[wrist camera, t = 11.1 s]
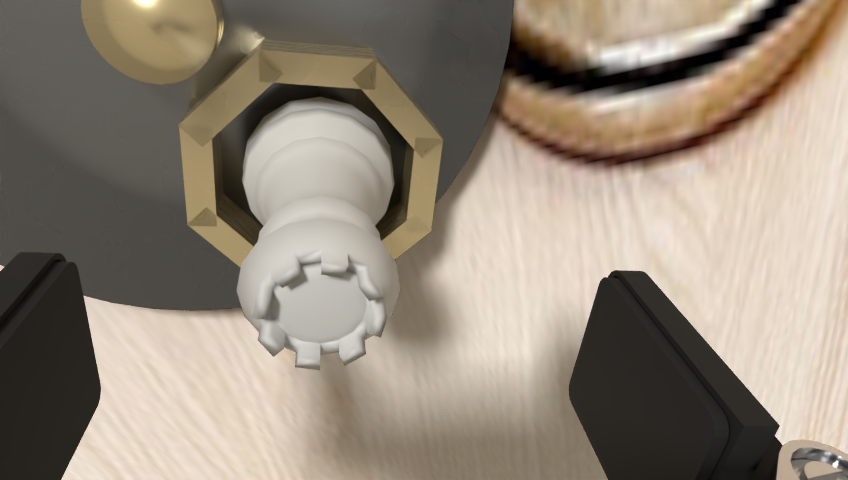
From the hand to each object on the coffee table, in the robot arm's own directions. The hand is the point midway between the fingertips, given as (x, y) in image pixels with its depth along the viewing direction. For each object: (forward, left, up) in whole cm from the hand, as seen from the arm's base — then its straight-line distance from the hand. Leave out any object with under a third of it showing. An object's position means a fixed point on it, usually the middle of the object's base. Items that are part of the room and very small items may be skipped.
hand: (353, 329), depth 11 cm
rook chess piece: (+1, 0, -9) cm, 9 cm away
